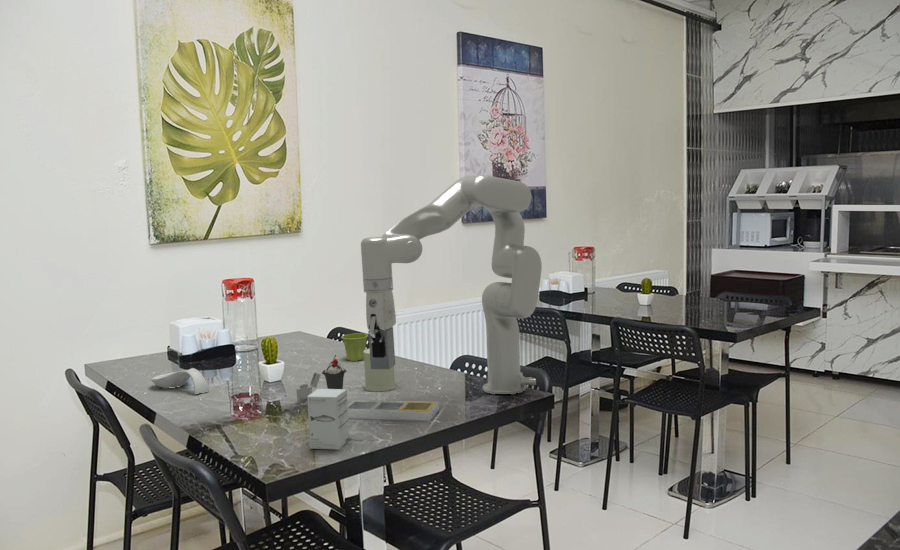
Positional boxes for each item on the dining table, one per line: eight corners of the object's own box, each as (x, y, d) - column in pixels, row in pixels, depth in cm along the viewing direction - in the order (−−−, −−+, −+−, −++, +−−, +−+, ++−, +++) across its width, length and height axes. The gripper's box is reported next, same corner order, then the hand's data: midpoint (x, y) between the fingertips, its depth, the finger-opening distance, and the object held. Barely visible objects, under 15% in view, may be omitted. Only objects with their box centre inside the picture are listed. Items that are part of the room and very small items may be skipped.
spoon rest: (145, 388, 232) (143, 366, 231) (178, 380, 241) (177, 359, 240) (186, 399, 217) (184, 375, 216) (220, 390, 226) (218, 367, 225)
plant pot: (367, 362, 256) (366, 337, 256) (340, 363, 257) (339, 338, 256) (370, 356, 266) (369, 332, 265) (344, 357, 266) (343, 333, 265)
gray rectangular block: (395, 364, 191) (392, 325, 190) (389, 369, 186) (386, 329, 185) (377, 364, 192) (374, 326, 191) (370, 369, 187) (368, 329, 186)
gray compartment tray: (439, 412, 192) (438, 401, 192) (430, 424, 183) (429, 412, 182) (353, 410, 197) (352, 399, 197) (339, 421, 188) (339, 410, 187)
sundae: (337, 411, 197) (334, 357, 196) (319, 408, 201) (316, 355, 199) (353, 405, 203) (350, 352, 201) (335, 402, 206) (332, 350, 205)
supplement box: (308, 449, 168) (305, 396, 166) (321, 439, 175) (318, 387, 173) (339, 450, 166) (336, 396, 165) (350, 440, 173) (347, 388, 172)
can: (390, 391, 215) (388, 352, 214) (360, 391, 217) (358, 351, 216) (399, 383, 224) (397, 345, 223) (370, 383, 226) (368, 345, 225)
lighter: (299, 404, 206) (298, 376, 205) (297, 402, 207) (295, 375, 206) (322, 399, 210) (320, 372, 209) (319, 398, 211) (318, 371, 211)
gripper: (381, 289, 178) (385, 362, 180) (402, 280, 194) (406, 347, 196) (352, 290, 179) (357, 362, 182) (375, 281, 196) (379, 347, 198)
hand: (382, 353), depth 189 cm, fingers closed on gray rectangular block, 5 cm apart
